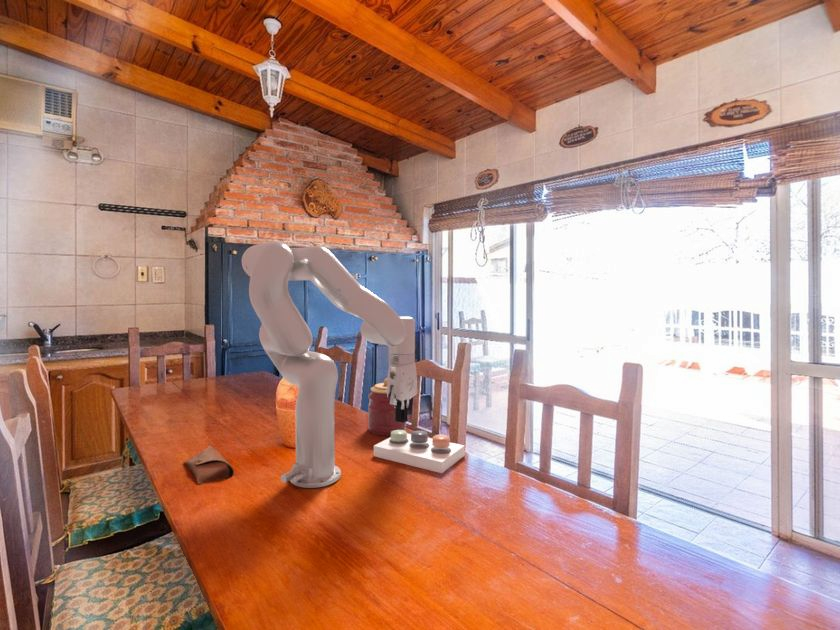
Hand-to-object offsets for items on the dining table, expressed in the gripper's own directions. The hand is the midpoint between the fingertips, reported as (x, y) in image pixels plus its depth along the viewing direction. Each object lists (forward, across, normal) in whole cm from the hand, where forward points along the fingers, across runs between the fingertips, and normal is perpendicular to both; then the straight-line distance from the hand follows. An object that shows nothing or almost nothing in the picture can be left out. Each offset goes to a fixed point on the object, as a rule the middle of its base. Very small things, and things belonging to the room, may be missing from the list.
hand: (401, 421), depth 127 cm
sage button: (+6, 0, +1) cm, 6 cm away
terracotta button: (+5, 0, -13) cm, 14 cm away
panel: (+9, 0, -6) cm, 11 cm away
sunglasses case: (+10, -37, +37) cm, 53 cm away
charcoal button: (+4, 0, -6) cm, 8 cm away
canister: (+9, +14, +15) cm, 22 cm away
